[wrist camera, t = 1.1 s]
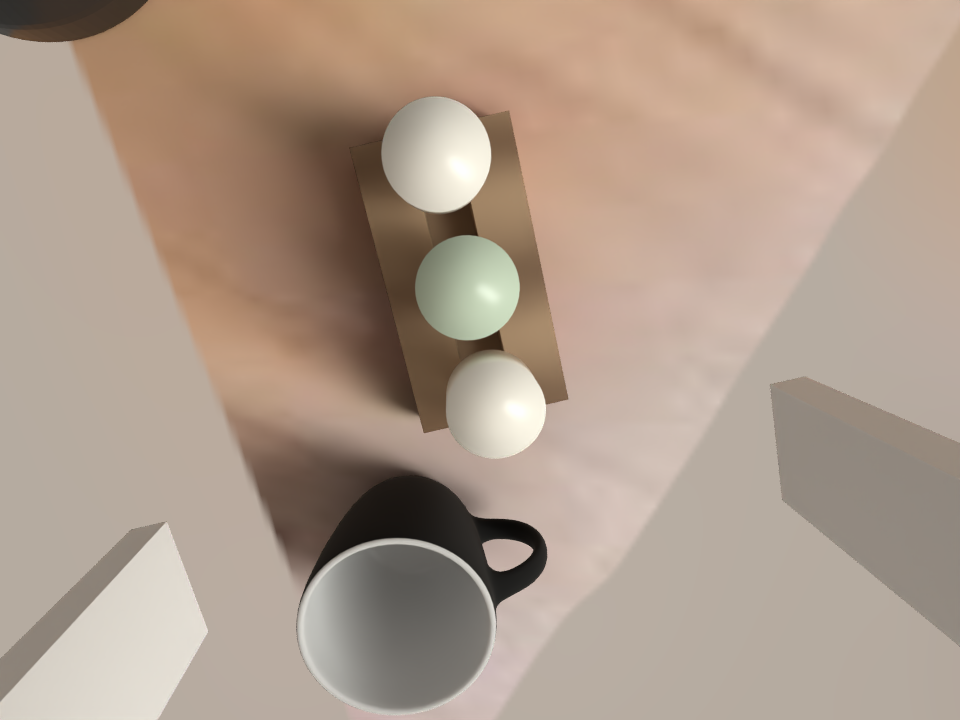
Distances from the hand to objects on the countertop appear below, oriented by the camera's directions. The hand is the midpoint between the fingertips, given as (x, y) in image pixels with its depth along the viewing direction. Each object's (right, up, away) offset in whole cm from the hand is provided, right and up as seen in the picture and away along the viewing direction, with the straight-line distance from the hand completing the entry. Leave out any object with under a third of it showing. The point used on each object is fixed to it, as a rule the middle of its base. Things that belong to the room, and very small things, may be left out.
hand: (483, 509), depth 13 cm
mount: (-1, +8, +21) cm, 22 cm away
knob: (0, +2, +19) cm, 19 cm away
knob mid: (-1, +7, +18) cm, 19 cm away
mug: (-3, -7, +24) cm, 25 cm away
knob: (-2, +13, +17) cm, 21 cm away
